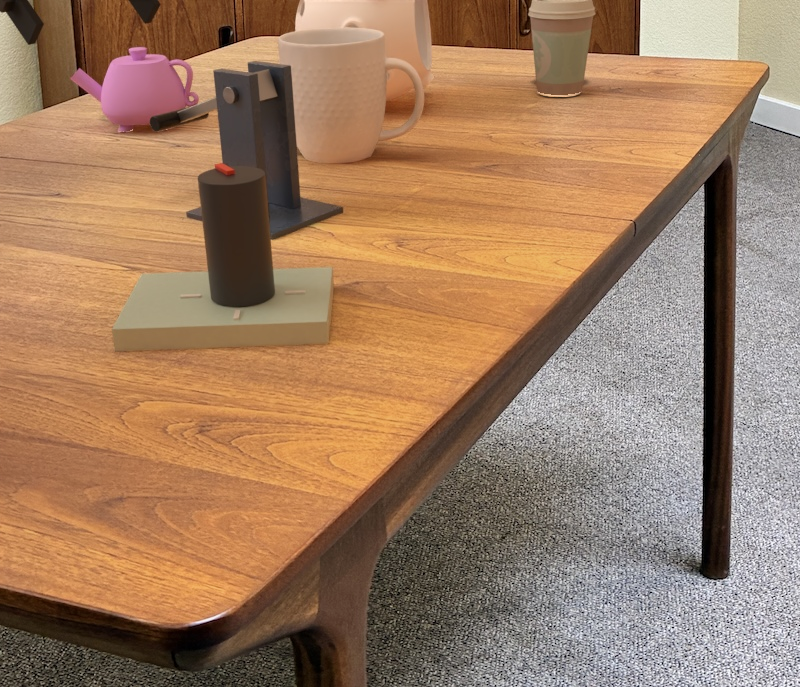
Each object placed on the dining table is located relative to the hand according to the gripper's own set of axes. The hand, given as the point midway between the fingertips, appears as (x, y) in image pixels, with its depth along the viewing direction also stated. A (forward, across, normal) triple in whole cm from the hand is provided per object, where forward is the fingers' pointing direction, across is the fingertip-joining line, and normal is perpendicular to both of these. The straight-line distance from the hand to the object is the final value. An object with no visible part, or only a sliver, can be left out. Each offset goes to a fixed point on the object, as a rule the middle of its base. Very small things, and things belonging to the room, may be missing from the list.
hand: (97, 24), depth 106 cm
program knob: (+36, -19, -18) cm, 44 cm away
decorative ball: (+11, +40, +12) cm, 43 cm away
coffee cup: (+22, +59, 0) cm, 63 cm away
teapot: (-2, +18, +25) cm, 30 cm away
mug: (+21, +20, +2) cm, 29 cm away
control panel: (+37, -19, -15) cm, 45 cm away
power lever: (+16, 0, -7) cm, 18 cm away
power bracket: (+26, 0, -4) cm, 26 cm away
